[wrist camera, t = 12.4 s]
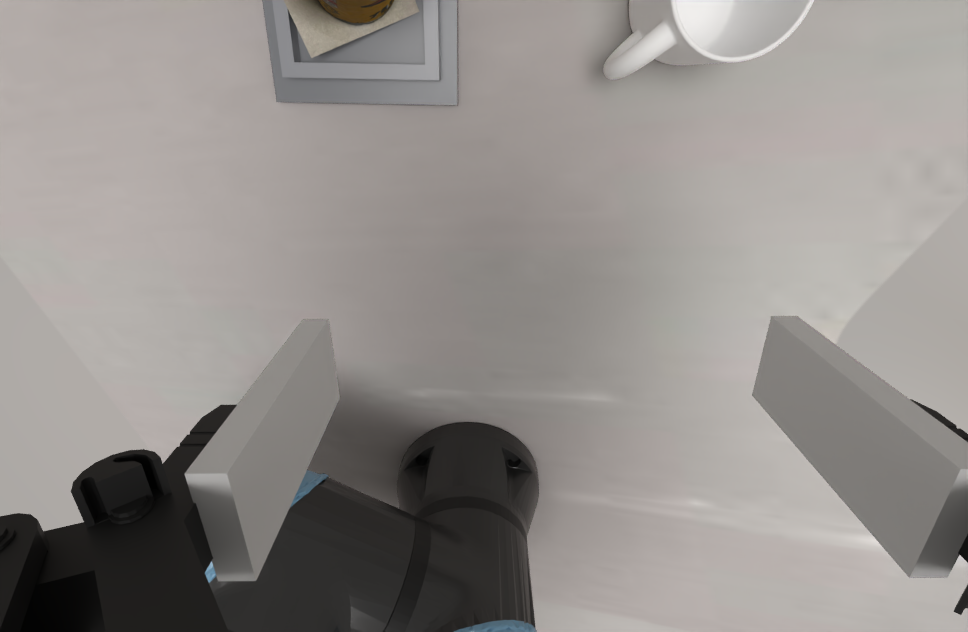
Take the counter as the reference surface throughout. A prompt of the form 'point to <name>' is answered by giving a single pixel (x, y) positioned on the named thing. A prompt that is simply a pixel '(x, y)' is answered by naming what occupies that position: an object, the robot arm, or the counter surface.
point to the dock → (370, 60)
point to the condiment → (344, 20)
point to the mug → (703, 32)
